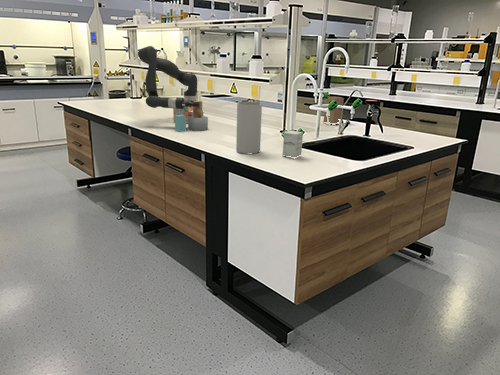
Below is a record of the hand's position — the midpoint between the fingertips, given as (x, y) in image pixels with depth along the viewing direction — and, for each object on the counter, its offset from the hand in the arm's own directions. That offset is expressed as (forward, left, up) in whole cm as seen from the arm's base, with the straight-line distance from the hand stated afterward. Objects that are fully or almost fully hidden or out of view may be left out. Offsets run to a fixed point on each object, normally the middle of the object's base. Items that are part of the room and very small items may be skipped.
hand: (200, 104), depth 259 cm
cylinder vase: (+66, -16, -17) cm, 70 cm away
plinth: (-1, -1, -17) cm, 17 cm away
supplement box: (+87, -5, -17) cm, 88 cm away
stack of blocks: (-23, +6, -17) cm, 29 cm away
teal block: (-2, -14, -16) cm, 22 cm away
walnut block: (-1, -1, -8) cm, 9 cm away
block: (+37, +95, -17) cm, 103 cm away
